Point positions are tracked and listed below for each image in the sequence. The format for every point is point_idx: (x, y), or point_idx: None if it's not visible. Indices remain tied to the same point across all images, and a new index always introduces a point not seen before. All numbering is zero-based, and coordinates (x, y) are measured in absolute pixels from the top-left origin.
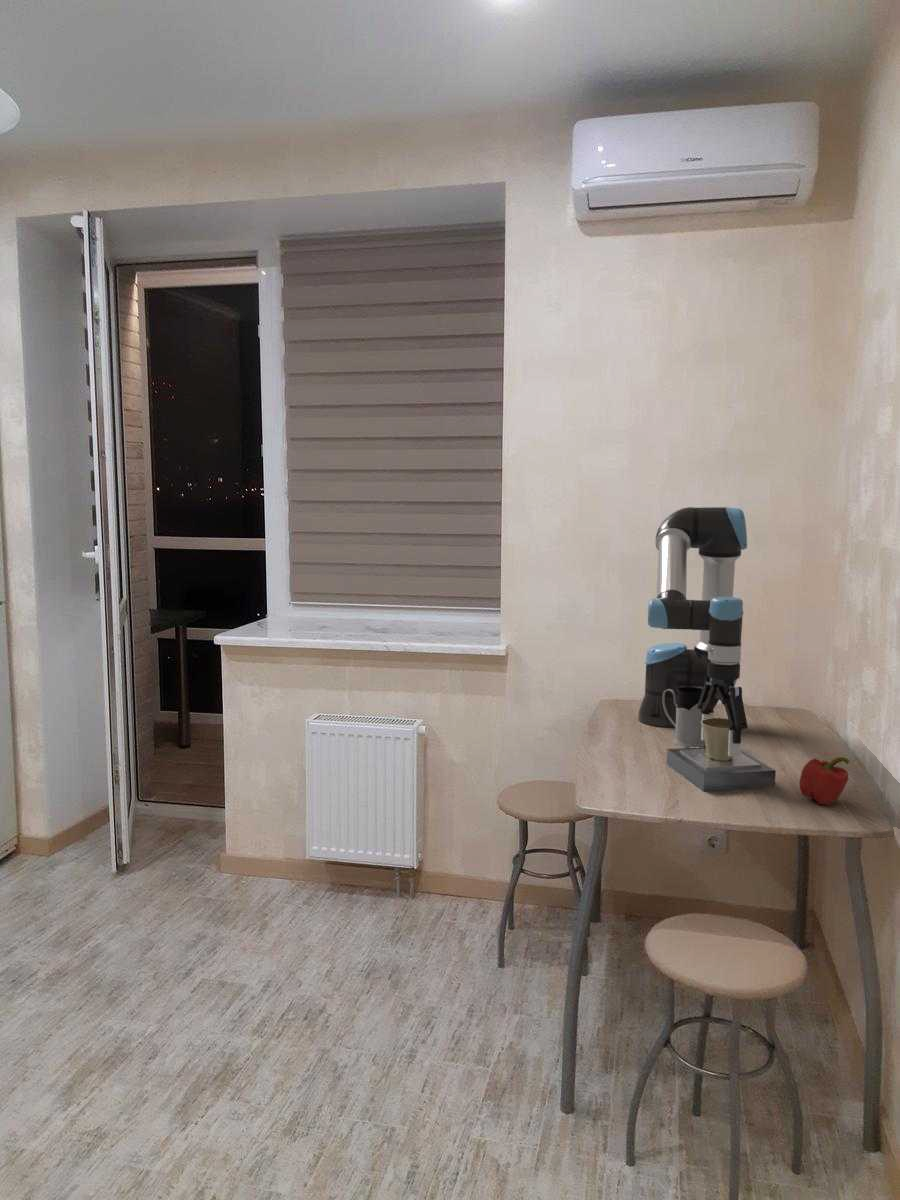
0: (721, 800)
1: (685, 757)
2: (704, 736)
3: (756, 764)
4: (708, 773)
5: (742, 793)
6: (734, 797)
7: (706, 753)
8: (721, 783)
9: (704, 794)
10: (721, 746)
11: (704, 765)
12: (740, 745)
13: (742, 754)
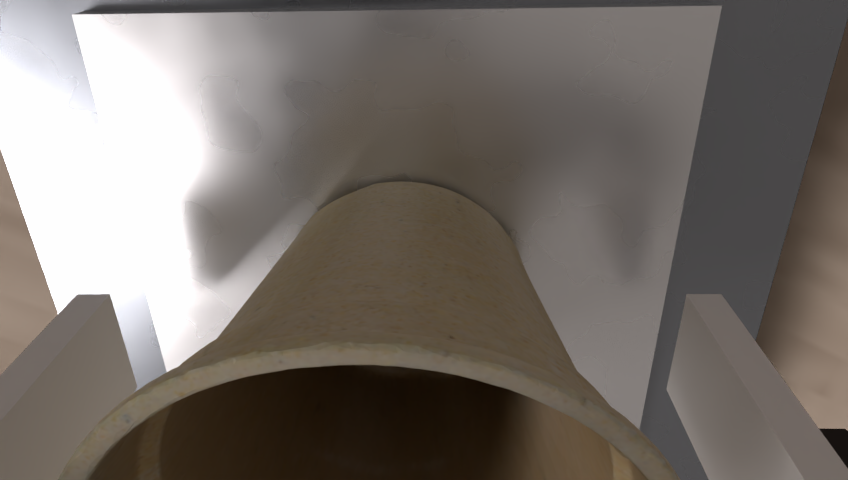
0: (840, 394)
1: None
2: (113, 397)
3: (693, 52)
4: (704, 478)
5: (796, 231)
6: (834, 310)
7: (366, 389)
8: None
9: None
10: (545, 430)
11: None
12: (776, 370)
13: (334, 22)
